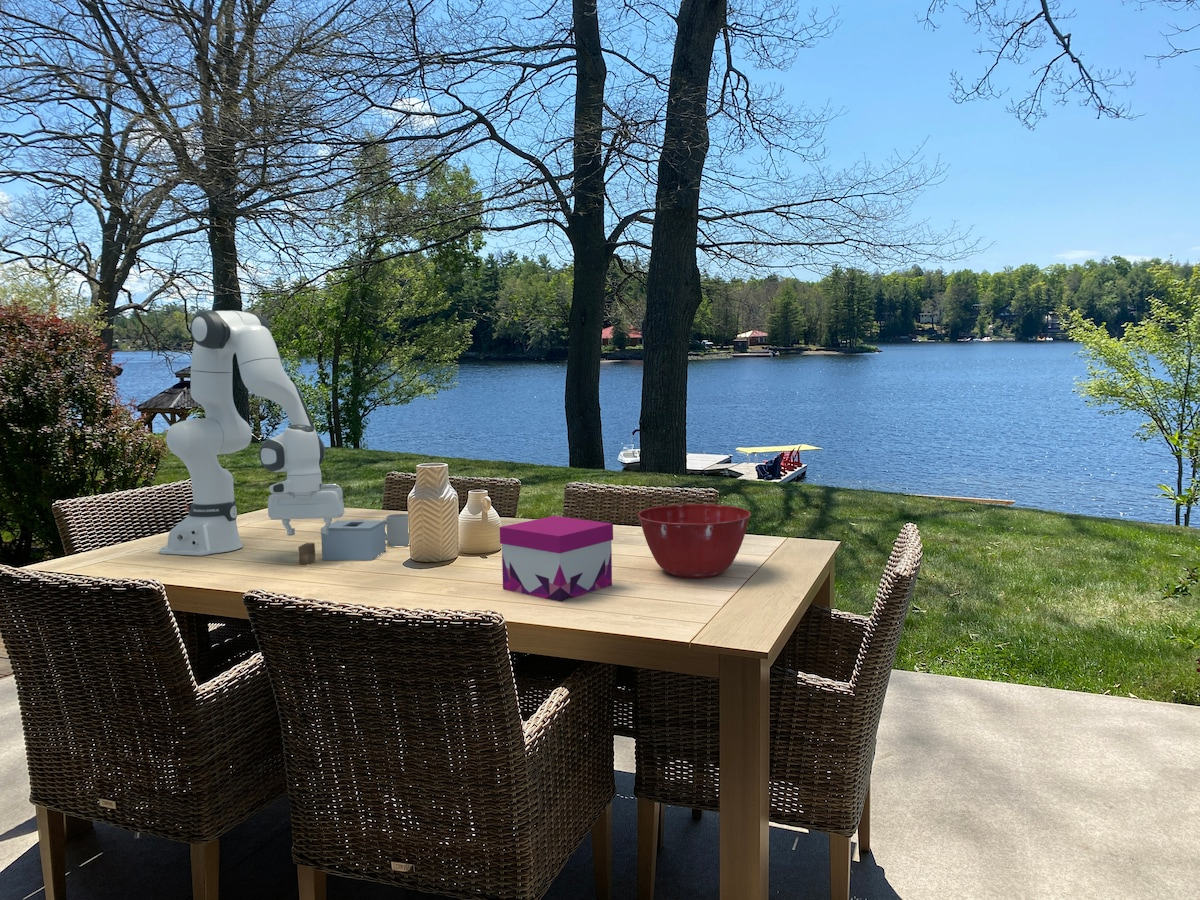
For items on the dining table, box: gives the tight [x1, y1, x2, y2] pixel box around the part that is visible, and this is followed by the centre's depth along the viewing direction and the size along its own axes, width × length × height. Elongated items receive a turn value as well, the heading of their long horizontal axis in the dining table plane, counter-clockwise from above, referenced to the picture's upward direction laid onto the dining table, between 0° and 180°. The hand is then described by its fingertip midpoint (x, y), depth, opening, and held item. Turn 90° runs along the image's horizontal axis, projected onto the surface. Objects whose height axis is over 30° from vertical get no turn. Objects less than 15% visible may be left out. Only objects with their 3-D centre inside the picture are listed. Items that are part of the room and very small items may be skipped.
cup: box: [382, 513, 409, 547], centre depth 252 cm, size 7×10×9 cm
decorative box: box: [499, 515, 614, 603], centre depth 199 cm, size 19×19×15 cm
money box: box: [320, 520, 387, 561], centre depth 237 cm, size 14×12×9 cm
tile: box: [297, 542, 316, 566], centre depth 229 cm, size 2×5×5 cm, turn 176°
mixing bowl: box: [637, 503, 752, 579], centre depth 212 cm, size 28×28×16 cm
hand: (307, 534), depth 229 cm, fingers open, 8 cm apart
